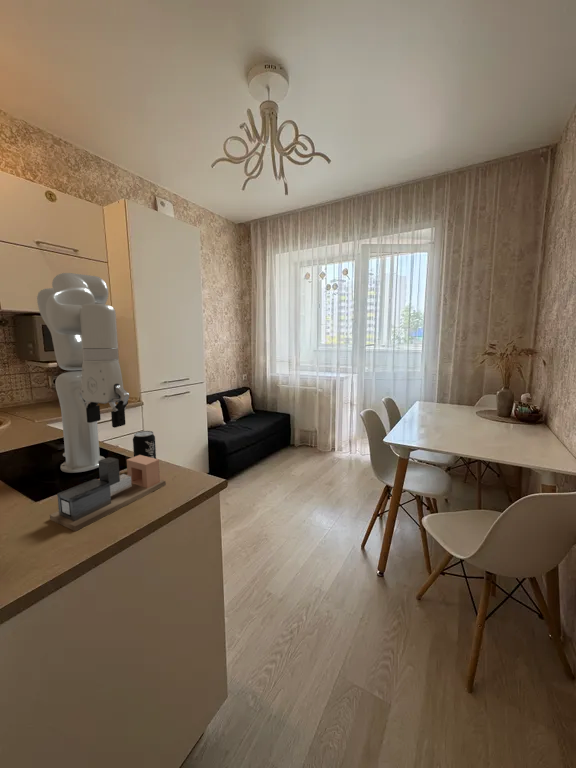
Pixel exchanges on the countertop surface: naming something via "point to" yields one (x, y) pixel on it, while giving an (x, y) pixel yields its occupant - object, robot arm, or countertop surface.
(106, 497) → the sleeve
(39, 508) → the countertop surface
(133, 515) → the countertop surface
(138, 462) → the socket block
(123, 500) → the base board
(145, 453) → the beverage can
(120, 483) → the slide bolt
